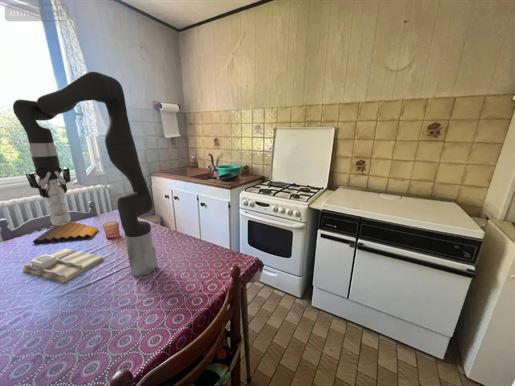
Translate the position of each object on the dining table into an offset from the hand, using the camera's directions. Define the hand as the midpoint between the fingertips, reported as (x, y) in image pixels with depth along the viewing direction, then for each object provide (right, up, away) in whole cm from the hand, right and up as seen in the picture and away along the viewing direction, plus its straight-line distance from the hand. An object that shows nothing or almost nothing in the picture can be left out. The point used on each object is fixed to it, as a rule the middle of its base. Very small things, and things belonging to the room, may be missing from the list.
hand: (54, 195), depth 92 cm
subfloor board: (+2, -30, +2) cm, 30 cm away
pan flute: (-19, -21, +33) cm, 44 cm away
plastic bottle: (0, -13, +4) cm, 13 cm away
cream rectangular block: (-4, -29, -1) cm, 29 cm away
